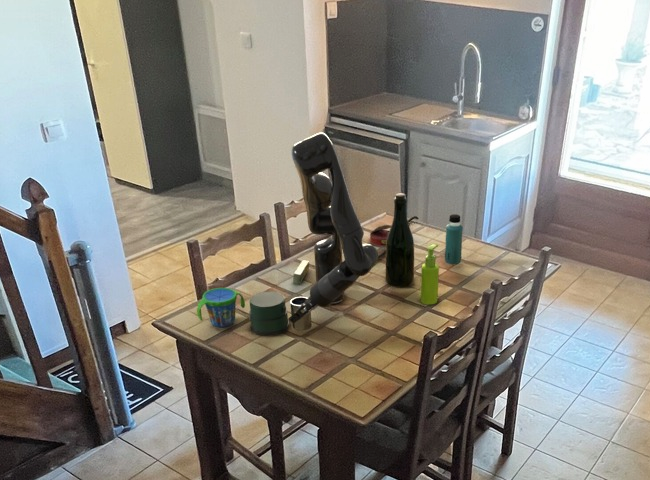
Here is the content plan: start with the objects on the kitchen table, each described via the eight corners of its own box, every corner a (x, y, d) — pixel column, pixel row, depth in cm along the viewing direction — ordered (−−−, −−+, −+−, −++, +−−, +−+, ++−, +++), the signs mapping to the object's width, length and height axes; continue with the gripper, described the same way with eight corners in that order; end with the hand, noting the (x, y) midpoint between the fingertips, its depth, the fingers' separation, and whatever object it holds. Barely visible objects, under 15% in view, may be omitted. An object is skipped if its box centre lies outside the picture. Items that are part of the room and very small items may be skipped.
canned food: (373, 255, 282) (361, 235, 277) (378, 243, 289) (367, 223, 284) (397, 246, 277) (385, 225, 272) (401, 234, 285) (390, 213, 280)
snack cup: (240, 310, 230) (236, 282, 225) (252, 323, 223) (249, 295, 218) (194, 321, 223) (189, 293, 218) (205, 336, 216) (200, 307, 210)
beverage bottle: (464, 263, 266) (467, 214, 255) (455, 269, 261) (458, 219, 250) (449, 259, 269) (452, 210, 258) (440, 265, 264) (443, 216, 253)
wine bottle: (397, 291, 245) (398, 201, 227) (379, 280, 251) (378, 193, 234) (419, 282, 251) (422, 195, 233) (401, 273, 257) (402, 187, 240)
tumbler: (298, 320, 220) (296, 295, 215) (315, 323, 218) (313, 298, 213) (289, 328, 215) (286, 303, 210) (305, 332, 213) (304, 307, 208)
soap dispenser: (441, 297, 241) (443, 244, 231) (433, 306, 236) (435, 252, 225) (425, 294, 243) (427, 241, 233) (417, 302, 238) (419, 248, 227)
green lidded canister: (263, 314, 228) (260, 287, 223) (296, 321, 225) (294, 294, 219) (242, 331, 219) (239, 303, 213) (276, 339, 215) (273, 311, 210)
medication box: (300, 284, 247) (300, 275, 245) (292, 283, 248) (293, 273, 245) (309, 270, 257) (309, 260, 255) (302, 268, 257) (302, 259, 255)
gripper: (331, 270, 210) (299, 297, 220) (308, 289, 199) (276, 317, 209) (347, 288, 212) (315, 315, 222) (325, 308, 200) (293, 335, 210)
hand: (296, 316), depth 215 cm, fingers closed on tumbler, 6 cm apart
